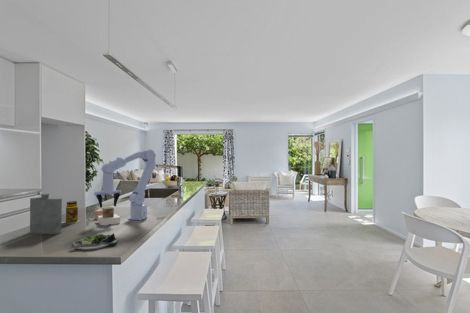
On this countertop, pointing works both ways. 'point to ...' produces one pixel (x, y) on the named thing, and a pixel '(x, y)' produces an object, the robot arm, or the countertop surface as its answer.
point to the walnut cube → (108, 212)
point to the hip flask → (45, 215)
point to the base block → (109, 220)
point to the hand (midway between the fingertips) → (108, 206)
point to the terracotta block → (98, 213)
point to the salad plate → (95, 242)
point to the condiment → (71, 212)
